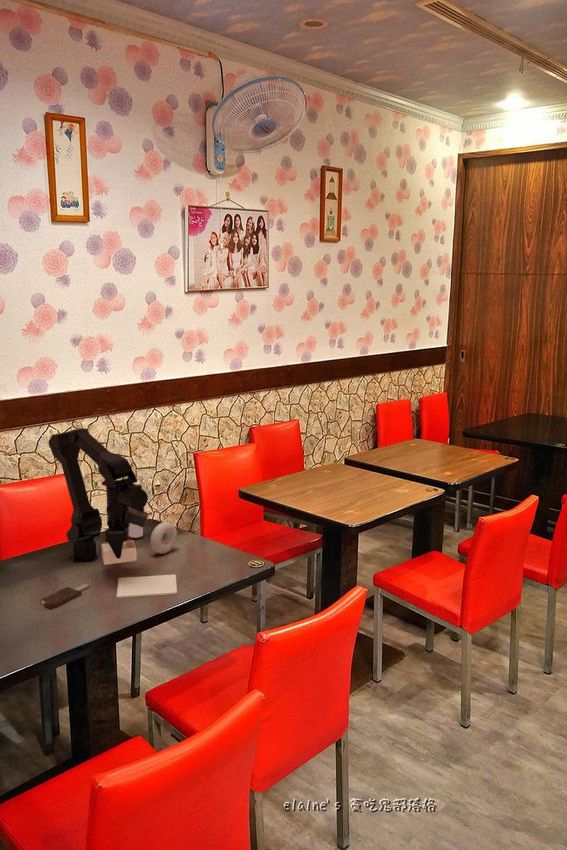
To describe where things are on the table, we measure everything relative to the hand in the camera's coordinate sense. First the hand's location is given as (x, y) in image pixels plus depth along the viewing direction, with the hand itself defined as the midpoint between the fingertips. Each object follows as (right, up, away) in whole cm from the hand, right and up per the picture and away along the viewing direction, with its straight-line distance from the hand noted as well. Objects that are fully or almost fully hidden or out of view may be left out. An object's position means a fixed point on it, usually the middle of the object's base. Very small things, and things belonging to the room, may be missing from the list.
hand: (119, 553), depth 205 cm
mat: (+10, -8, -8) cm, 15 cm away
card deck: (0, -2, 0) cm, 2 cm away
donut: (+10, -3, +16) cm, 19 cm away
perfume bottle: (-1, 0, +29) cm, 29 cm away
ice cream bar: (-11, -9, -14) cm, 20 cm away
